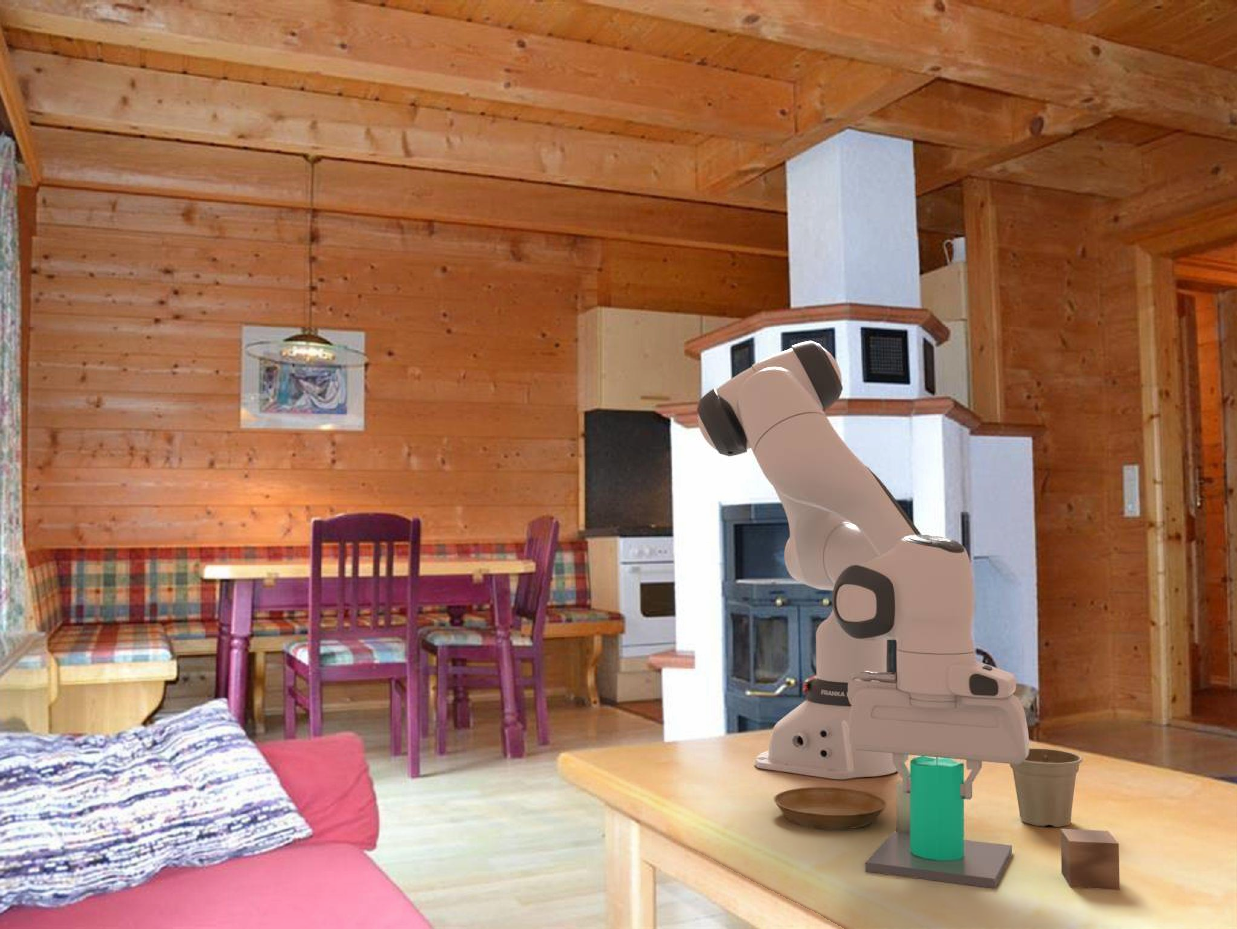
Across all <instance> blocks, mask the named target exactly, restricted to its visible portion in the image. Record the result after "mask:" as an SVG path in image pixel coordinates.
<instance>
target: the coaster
mask: <svg viewBox="0 0 1237 929" xmlns="http://www.w3.org/2000/svg"><path fill="white" fill-rule="evenodd" d="M1012 856H1013V845H1011V844H1003V843H996V842H995V843H994V842H987V841H985V842H984V841H980V840H979V841H977V840H969V839H964V855H963V857H962V858H960V859H956V860H932V859H925V858H922V857H919V856H916V855H914V854H913V853H912V852H911V851H910V833H901V832H897V831H892V833H891V834H889V835H888V837H887V838H886V839H885V840H884V841H883V842H882V843H881V845H880V846H878V848H876V850H875V851H874V852H873V853H872V854H871V856H870V857H868V859H867V860H866V861H865V862H864V863H865V867H864V868H865V872H867V873H868V872H869V873H877V874H884V875H885V874H886V875H891V876H897V877H898V876H900V877H906V878H916V879H923V880H928V881H935V882H937V881H938V882H944V883H945V882H946V883H952V884H957V885H958V884H959V885H967V886H976V887H982V888H991V889H996V887H997V885H998V883H999V881H1000V880H1001V877H1002V875H1003V872H1004V871H1005V869H1006V867H1007V864H1008V863H1009V862H1010V858H1011V857H1012Z"/></svg>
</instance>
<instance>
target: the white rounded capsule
mask: <svg viewBox="0 0 1237 929" xmlns="http://www.w3.org/2000/svg"><path fill="white" fill-rule="evenodd" d="M895 796H896V797H895V799H896V802H895V803H896V832H901V833H910V793H903V787H902V781H898V782H896V784H895Z"/></svg>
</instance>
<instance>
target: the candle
mask: <svg viewBox="0 0 1237 929" xmlns="http://www.w3.org/2000/svg"><path fill="white" fill-rule="evenodd" d="M909 763H910V765H909V766H910V768H909V769H910V770H909V772H910V779H911V792H910V851H911V852H912V853H913V854H914V855H916V856H919V857H922V858H925V859H932V860H956V859H960V858H962V857H963V855H964V840H965V799H962V798H961V784H962V782H963V781H965V769H964V768H965V764H964V762H958V761H956V760H954V759H951V758H940V757H929V756H916V757H913V758H912V759H911V760H910V762H909Z"/></svg>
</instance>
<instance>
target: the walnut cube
mask: <svg viewBox="0 0 1237 929" xmlns="http://www.w3.org/2000/svg"><path fill="white" fill-rule="evenodd" d="M1119 846H1120V844H1119V842H1118V841H1117V840H1116V839H1115V838H1114V836H1113V835H1112V834H1111V833H1110V831H1108V830H1096V829H1075V828H1073V829H1072V828H1060V856H1061V858H1060V862H1061V875H1062V876H1063V878H1064V879H1065V881H1066V883H1067V885H1068V886H1069V888H1073V889H1074V888H1075V889H1089V890H1090V889H1093V890H1094V889H1095V890H1110V891H1120V889H1121V888H1120V887H1121V886H1120V885H1121V884H1120V881H1121V880H1120V879H1121V878H1120V849H1119Z"/></svg>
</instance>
